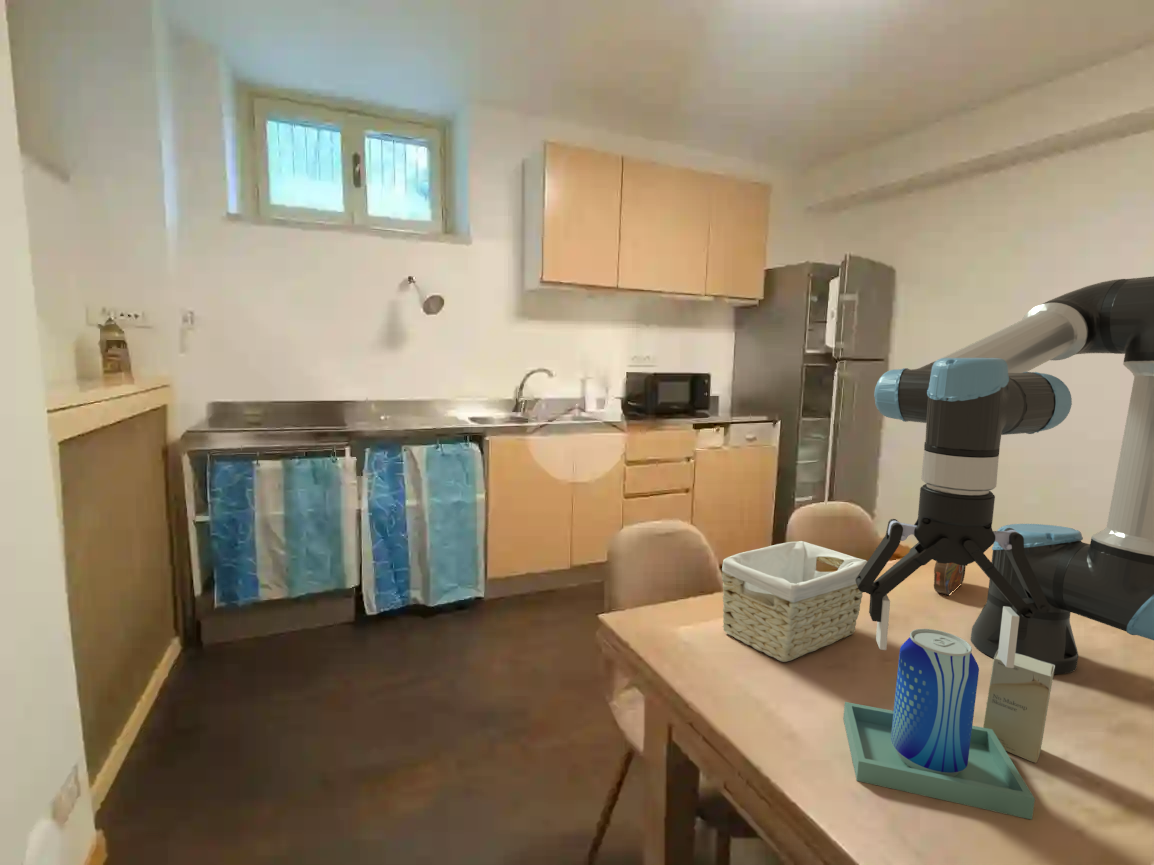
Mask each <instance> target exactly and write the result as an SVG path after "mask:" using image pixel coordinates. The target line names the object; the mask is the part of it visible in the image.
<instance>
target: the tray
mask: <svg viewBox="0 0 1154 865" xmlns="http://www.w3.org/2000/svg"><path fill="white" fill-rule="evenodd" d="M843 707H844V708H843V717H842V718H843V723H844V727H845V728H844V729H845V732H846V738H847V741H848V746H849V752H850V756H851V760H852V764H853V770H854V774H855V779H856V782H861V783H865V784H870V785H875V786H879V787H883V788H888V789H893V790H896V791H902V792H906V793H910V794H915V795H919V796H924V797H929V798H933V799H936V800H937V799H938V800H942V801H946V802H951V803H954V804H955V803H956V804H959V805H965V806H969V807H972V808H973V807H974V808H979V809H983V810H987V811H991V812H995V813H1000V814H1005V815H1010V816H1014V817H1019V818H1022V819H1027V820H1031V821H1032V820H1033V816H1034V815H1033V814H1034V808H1035V800H1036V798H1035V797H1034V795H1033V793H1032V792H1031V790H1030V788H1029V787H1028V785H1027V783H1026V782H1025V780H1024V778H1023V777H1022V776H1021V774H1020V772H1019V771H1018V768H1016V766H1015V764H1014V762H1013V760H1012V759H1011V757H1010V756H1009V754H1008V752H1007V751H1005V749H1004V748H1003V746H1002V744H1001V743H1000V741H999V740H998V738H997V736H996V735H995V733H994V731H993V730H992V729H988V728H983V726H977V725H972V732H971V740H970V749H969V757H968V765H967V767H966V768H965V769H964V770H963V771H961V772H959V773H958V774H957V775H956V776H954V777H950V776H946V775H941V774H936V773H932V772H927V771H922V770H917V769H913V768H911V767H909V766H908V765H907V764H905V763H904V762H903V761H902V760H901V759H900V757H899V756H898V754H897V751H896V750H895V748H894V747H893V745H892V743H891V731H892V721H893V712H894V710H891V709H885V708H880V707H875V706H870V705H865V704H864V705H863V704H858V703H852V702H848V701H844V706H843Z"/></svg>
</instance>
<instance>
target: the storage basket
mask: <svg viewBox="0 0 1154 865" xmlns="http://www.w3.org/2000/svg"><path fill="white" fill-rule="evenodd" d="M722 560H723V562H722V565H721V566H722V568H721V571H722V574H721V581H722V582H723V583H722V590H723V591H722V592H723V593H722V594H723V596H722V602H723V606H722V612H723V613H722V617H723V619H722V623H723V625H722V628H723V632H725V633H726V634H727V635H729V636H730V637H731V636H732V637H734V638H735V639H736V640H738V641H741V642H742V643H743V644H745V645H748V646H751V647H752V648H753V649H755V650H757V651H759V652H761V653H762V652H763V653H764V654H765V655H767V656H769V657H771V658H774V659H775V660H778V662H779V661H780V662H783V663H787V662H790V661H793V660H796V659H797V658H799V657H803V656H804V655H806V654H808V653H812V652H813V653H814V652H815V651H817V650H818V649H822V648H823V647H826V646H830V645H833V644H834V643H836V642H838V641H839V640H841V639H844V638H845V639H846V638H847V637H849V636H851V635H853V634H854V633H855V631H856V627H857V626H856V625H857V620H858V617H859V614H860V610H861V603H862V598H863V593H864V592H861V591H859V589H858V587H857V584H856V581H855V580H856V578H857V576H858V575H859V573H860V572H861V570H862V569H863V567H864V566H865V564H866V563H867V562H868V560H866V559H863V558H858V557H856V556H852V555H849V554H846V553H843V552H840V551H837V550H833V549H830V548H827V547H824V546H820V545H817V544H813V543H809V542H807V541H803V540H800V541H787V542H783V543H776V544H774V545H769V546H764V547H761V548H756V549H752V550H747V551H743V552H739V553H736V554H732V555H731V556H727V557H725V558H724V559H722ZM817 561H819V562H820V563H822V564H827V565H830V566H832V567H834V568H837V570H835V571H819V570H817V564H818V563H817Z"/></svg>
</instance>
